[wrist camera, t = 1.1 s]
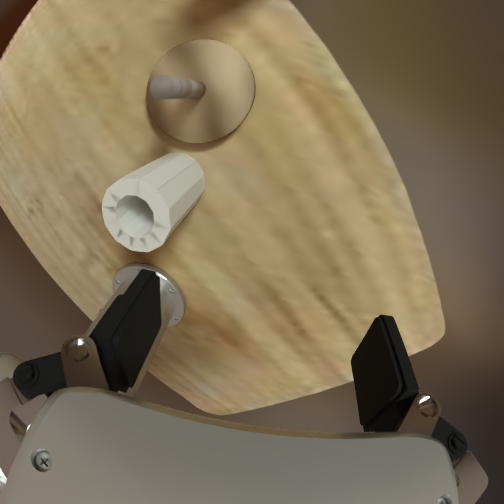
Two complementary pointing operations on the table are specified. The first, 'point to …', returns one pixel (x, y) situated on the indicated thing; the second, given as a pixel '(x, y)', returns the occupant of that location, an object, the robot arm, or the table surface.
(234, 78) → the roll stand
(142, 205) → the paper roll
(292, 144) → the table surface
